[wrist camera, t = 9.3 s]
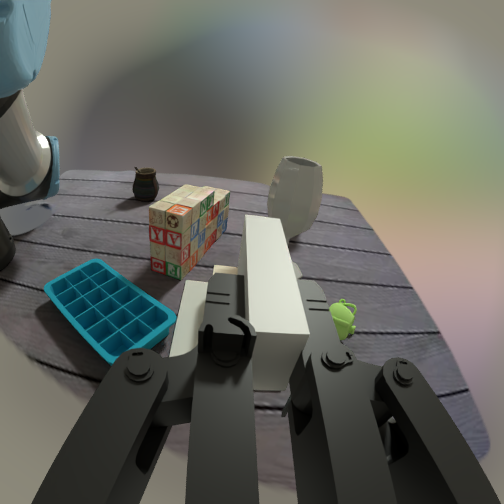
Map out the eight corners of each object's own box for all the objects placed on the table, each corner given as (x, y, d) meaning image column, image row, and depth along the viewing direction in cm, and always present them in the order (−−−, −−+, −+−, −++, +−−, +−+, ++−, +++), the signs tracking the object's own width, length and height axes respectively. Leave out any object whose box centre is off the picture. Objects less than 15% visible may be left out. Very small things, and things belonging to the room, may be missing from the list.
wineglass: (309, 281, 53) (341, 171, 42) (270, 291, 49) (297, 169, 38) (283, 256, 59) (306, 154, 48) (245, 263, 55) (263, 152, 44)
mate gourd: (163, 196, 77) (164, 161, 72) (148, 206, 71) (148, 169, 65) (143, 191, 78) (143, 158, 73) (127, 201, 72) (126, 165, 66)
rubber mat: (165, 380, 31) (164, 378, 31) (186, 281, 47) (186, 279, 47) (281, 389, 32) (282, 388, 32) (269, 290, 49) (269, 288, 49)
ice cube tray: (99, 270, 46) (97, 256, 44) (181, 331, 38) (180, 316, 37) (46, 300, 37) (41, 286, 35) (119, 381, 29) (114, 367, 28)
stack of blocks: (201, 223, 66) (205, 172, 60) (226, 229, 65) (233, 177, 59) (150, 270, 49) (148, 205, 42) (181, 281, 47) (182, 214, 41)
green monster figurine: (340, 358, 38) (355, 330, 35) (307, 341, 40) (319, 312, 37) (353, 333, 42) (367, 306, 39) (324, 318, 45) (335, 291, 42)
